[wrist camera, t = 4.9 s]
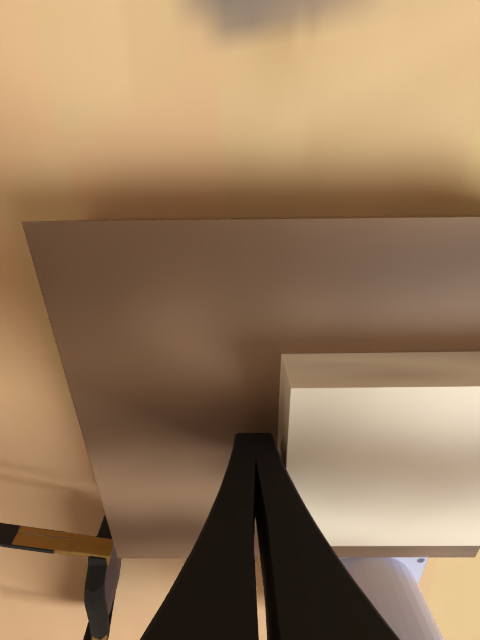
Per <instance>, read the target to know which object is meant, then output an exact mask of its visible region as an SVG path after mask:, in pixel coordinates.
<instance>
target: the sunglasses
mask: <svg viewBox="0 0 480 640" xmlns="http://www.w3.org/2000/svg"><path fill="white" fill-rule="evenodd" d="M0 546H2V547H8V548H15V549H23V550H30V551H37V552H45V553H52V554H54V553H58V554H66V555H68V554H69V555H75V556H82V557H89V558H88V571H87V577H86V583H85V595H84V601H85V608H86V612H87V616H88V620H89V622H88V625H87V629H86V632H85V636H84V639H83V640H108V637H109V632H110V624H111V618H112V611H113V605H114V599H115V593H116V589H117V584H118V580H119V574H120V567H121V558H118V557H117V553H116V550H115V546H114V543H113V539H112V536H111V532H110V529H109V525H108V522H107V518H106V515H105V516H104V519H103V521H102V524H101V527H100V530H99V533H98V536H96V537H93V536H86V535H79V534H72V533H66V532H61V531H54V530H47V529H40V528H33V527H26V526H19V525H12V524H5V523H0Z"/></svg>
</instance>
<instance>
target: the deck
mask: <svg viewBox="0 0 480 640" xmlns="http://www.w3.org/2000/svg"><path fill="white" fill-rule="evenodd" d="M22 224H23V228H24V231H25V235H26V238H27V242H28V245H29V249H30V252H31V256H32V259H33V263H34V266H35V270H36V273H37V277H38V280H39V284H40V287H41V291H42V294H43V298H44V301H45V305H46V308H47V312H48V315H49V319H50V322H51V326H52V329H53V333H54V336H55V340H56V343H57V347H58V350H59V354H60V357H61V361H62V364H63V368H64V371H65V375H66V378H67V382H68V385H69V389H70V392H71V396H72V399H73V403H74V406H75V410H76V413H77V417H78V420H79V424H80V427H81V431H82V434H83V438H84V441H85V445H86V448H87V452H88V455H89V459H90V462H91V466H92V469H93V473H94V476H95V480H96V483H97V487H98V490H99V494H100V497H101V501H102V504H103V508H104V511H105V515H106V518H107V522H108V525H109V529H110V532H111V536H112V539H113V543H114V546H115V550H116V553H117V557H118V558H188V556H189V555H190V553H191V551H192V549H193V547H194V545H195V543H196V541H197V539H198V537H199V535H200V533H201V531H202V528H203V526H204V524H205V522H206V520H207V518H208V515H209V513H210V511H211V508H212V506H213V504H214V501H215V499H216V496H217V494H218V492H219V489H220V486H221V484H222V481H223V478H224V475H225V472H226V470H227V467H228V463H229V460H230V457H231V453H232V449H233V444H234V438H235V435H236V434H237V433H271V434H272V435H273V438H274V441H275V444H276V447H277V442H278V418H279V395H280V371H281V354H315V353H396V352H476V351H480V216H450V217H353V218H257V219H160V220H77V221H38V222H22ZM331 547H332V549H333V550H334V552H335V553H336V555H337V556H338V558H377V557H475V556H476V554H477V552H478V550H479V548H480V546H331ZM254 556H255V558H260V552H259V544H258V536H257V527H256V519H255V537H254Z"/></svg>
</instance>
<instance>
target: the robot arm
mask: <svg viewBox="0 0 480 640" xmlns="http://www.w3.org/2000/svg"><path fill="white" fill-rule="evenodd" d="M255 519H256V527H257V536H258V544H259V552H260V561H261V569H262V577H263V585H264V596H265V608H266V626H267V640H444V638H443V636H442V634H441V632H440V630H439V627H438V625H437V623H436V621H435V619H434V617H433V615H432V613H431V611H430V609H429V607H428V605H427V602H426V600H425V598H424V596H423V594H422V592H421V590H420V588H419V586H418V583H419V580H420V578H421V575H422V573H423V570H424V568H425V565H426V563H427V560H428V558H429V557H377V558H338V556H337V555H336V553H335V552H334V550H333V549H332V547H331V546H330V544H329V543H328V541H327V540H326V538H325V537H324V535H323V534H322V532H321V530H320V529H319V527H318V526H317V524H316V522H315V521H314V519H313V517H312V516H311V514H310V512H309V511H308V509H307V507H306V506H305V504H304V502H303V500H302V498H301V497H300V495H299V493H298V491H297V489H296V487H295V485H294V483H293V482H292V480H291V478H290V476H289V474H288V472H287V470H286V468H285V465H284V463H283V461H282V459H281V457H280V454H279V452H278V449H277V447H276V444H275V441H274V438H273V435H272V434H271V433H237V434H236V435H235V438H234V444H233V449H232V453H231V457H230V460H229V463H228V467H227V470H226V472H225V475H224V478H223V481H222V484H221V486H220V489H219V492H218V494H217V496H216V499H215V501H214V504H213V506H212V508H211V511H210V513H209V515H208V518H207V520H206V522H205V524H204V526H203V528H202V531H201V533H200V535H199V537H198V539H197V541H196V543H195V545H194V547H193V549H192V551H191V553H190V555H189V556H188V558H187V560H186V562H185V564H184V566H183V567H182V569H181V571H180V573H179V575H178V577H177V579H176V580H175V582H174V584H173V586H172V587H171V589H170V591H169V593H168V594H167V596H166V598H165V600H164V601H163V603H162V605H161V606H160V608H159V609H158V611H157V613H156V614H155V616H154V618H153V619H152V621H151V622H150V624H149V626H148V627H147V629H146V631H145V632H144V634H143V635H142V637H141V639H140V640H259V638H258V618H257V598H256V577H255V556H254V537H255Z"/></svg>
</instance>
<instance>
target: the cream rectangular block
mask: <svg viewBox="0 0 480 640" xmlns="http://www.w3.org/2000/svg"><path fill="white" fill-rule="evenodd" d="M277 449H278V452H279V454H280V457H281V459H282V461H283V463H284V465H285V468H286V470H287V472H288V474H289V476H290V478H291V480H292V482H293V483H294V485H295V487H296V489H297V491H298V493H299V495H300V497H301V498H302V500H303V502H304V504H305V506H306V507H307V509H308V511H309V512H310V514H311V516H312V517H313V519H314V521H315V522H316V524H317V526H318V527H319V529H320V530H321V532H322V534H323V535H324V537H325V538H326V540H327V541H328V543H329V544H330V546H480V351H476V352H396V353H315V354H281V371H280V395H279V418H278V442H277Z"/></svg>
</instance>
